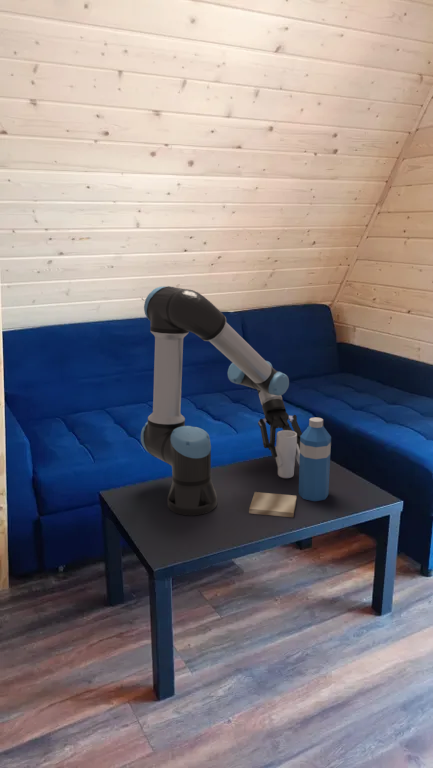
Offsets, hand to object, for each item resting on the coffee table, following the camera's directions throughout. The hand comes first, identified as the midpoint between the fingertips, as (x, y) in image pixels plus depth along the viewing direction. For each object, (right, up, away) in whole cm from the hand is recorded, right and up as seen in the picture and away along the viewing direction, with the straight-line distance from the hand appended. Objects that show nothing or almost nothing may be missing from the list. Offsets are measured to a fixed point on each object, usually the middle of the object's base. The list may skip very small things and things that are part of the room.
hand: (290, 464), depth 191 cm
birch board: (-7, -11, -15) cm, 19 cm away
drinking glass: (-1, -5, +5) cm, 7 cm away
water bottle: (+6, -9, -7) cm, 13 cm away
